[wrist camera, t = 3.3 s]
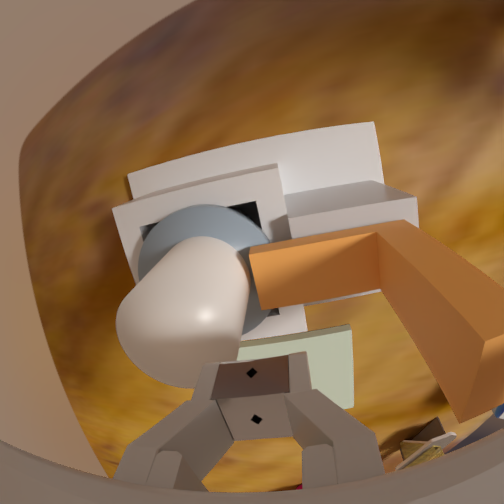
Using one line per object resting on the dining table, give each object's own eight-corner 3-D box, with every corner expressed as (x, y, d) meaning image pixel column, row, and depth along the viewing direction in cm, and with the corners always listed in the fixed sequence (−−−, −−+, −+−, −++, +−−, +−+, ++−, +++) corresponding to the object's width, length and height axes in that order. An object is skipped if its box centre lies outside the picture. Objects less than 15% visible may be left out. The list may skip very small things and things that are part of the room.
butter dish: (345, 458, 35) (350, 494, 29) (432, 378, 30) (452, 415, 23) (398, 466, 36) (406, 496, 30) (478, 395, 31) (496, 425, 24)
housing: (369, 122, 21) (420, 110, 13) (388, 283, 26) (429, 340, 17) (132, 173, 24) (68, 189, 15) (176, 317, 28) (142, 380, 20)
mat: (349, 324, 27) (351, 329, 26) (352, 401, 31) (353, 407, 30) (205, 345, 29) (203, 351, 28) (233, 416, 32) (232, 422, 32)
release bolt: (404, 219, 14) (539, 317, 5) (406, 272, 15) (510, 399, 6) (250, 246, 15) (212, 398, 6) (262, 299, 16) (244, 467, 7)
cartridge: (266, 177, 23) (254, 219, 9) (286, 275, 25) (293, 404, 12) (167, 200, 24) (58, 262, 10) (193, 290, 26) (130, 409, 13)
